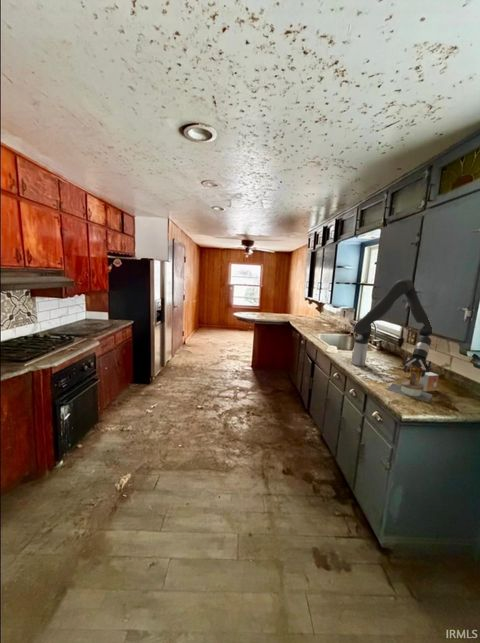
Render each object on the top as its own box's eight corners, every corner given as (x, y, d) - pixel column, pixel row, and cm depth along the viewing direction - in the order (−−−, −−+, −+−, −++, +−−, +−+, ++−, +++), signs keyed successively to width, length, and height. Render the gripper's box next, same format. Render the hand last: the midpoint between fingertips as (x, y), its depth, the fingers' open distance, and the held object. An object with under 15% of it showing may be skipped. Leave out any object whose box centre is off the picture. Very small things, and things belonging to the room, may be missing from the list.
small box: (425, 392, 176) (428, 375, 174) (418, 388, 182) (420, 372, 180) (436, 391, 179) (439, 375, 176) (428, 387, 184) (431, 371, 182)
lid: (398, 385, 172) (400, 372, 170) (403, 379, 180) (405, 367, 179) (421, 391, 164) (423, 378, 162) (425, 385, 173) (428, 373, 171)
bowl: (399, 392, 172) (400, 385, 171) (403, 388, 180) (404, 380, 179) (418, 398, 166) (419, 390, 165) (421, 393, 173) (423, 385, 172)
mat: (386, 390, 176) (386, 389, 176) (392, 384, 187) (392, 383, 186) (428, 402, 162) (428, 402, 162) (432, 395, 172) (432, 394, 172)
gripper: (407, 345, 179) (399, 367, 172) (434, 351, 169) (427, 374, 163) (408, 352, 183) (400, 374, 177) (434, 357, 174) (427, 381, 168)
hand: (413, 374), depth 170 cm, fingers open, 8 cm apart
